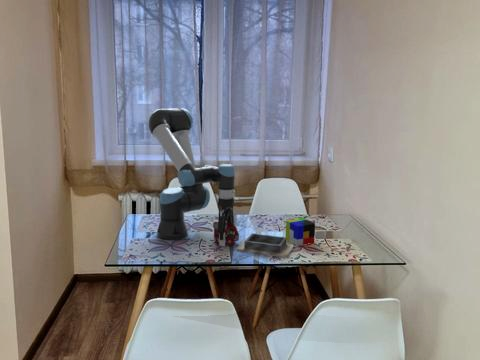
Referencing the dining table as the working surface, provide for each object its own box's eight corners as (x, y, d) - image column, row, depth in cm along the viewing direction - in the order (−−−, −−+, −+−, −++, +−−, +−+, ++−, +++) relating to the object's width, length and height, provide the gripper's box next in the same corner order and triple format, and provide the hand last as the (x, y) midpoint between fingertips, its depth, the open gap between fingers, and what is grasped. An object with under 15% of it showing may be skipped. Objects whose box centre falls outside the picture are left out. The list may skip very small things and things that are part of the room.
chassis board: (236, 250, 205) (236, 241, 204) (245, 240, 218) (245, 231, 217) (287, 257, 197) (287, 247, 196) (294, 246, 210) (294, 237, 209)
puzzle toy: (297, 246, 211) (297, 226, 209) (285, 239, 220) (286, 220, 218) (314, 243, 216) (315, 223, 213) (302, 236, 224) (303, 217, 222)
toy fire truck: (237, 246, 210) (237, 225, 208) (211, 244, 211) (211, 223, 209) (239, 241, 217) (239, 220, 214) (214, 239, 218) (214, 219, 216)
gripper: (225, 203, 198) (225, 251, 203) (241, 192, 218) (240, 236, 223) (209, 202, 200) (209, 249, 205) (226, 191, 220) (226, 234, 225)
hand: (225, 242), depth 214 cm, fingers open, 9 cm apart
